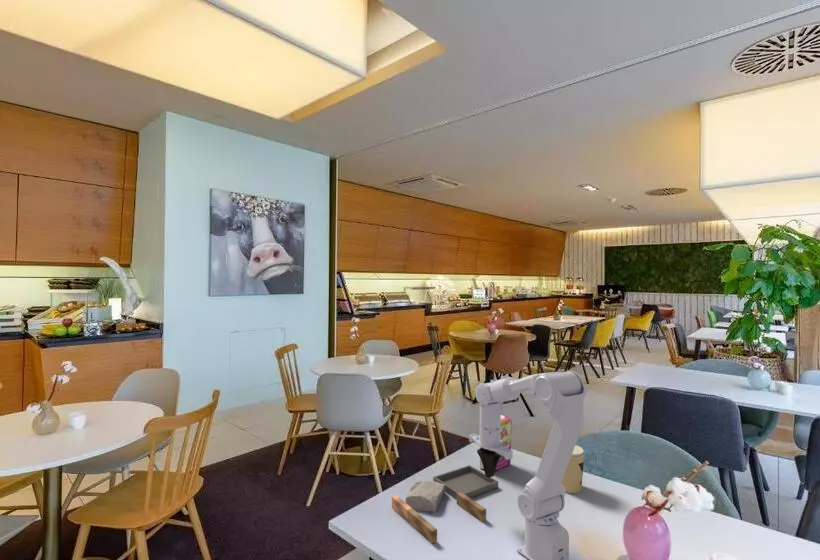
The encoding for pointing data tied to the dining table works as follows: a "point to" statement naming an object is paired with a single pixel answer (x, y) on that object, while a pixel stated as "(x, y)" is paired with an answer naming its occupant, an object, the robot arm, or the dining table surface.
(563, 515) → the dining table surface
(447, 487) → the tray
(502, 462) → the candy bar box
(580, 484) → the coffee cup
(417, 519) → the pair of wooden bars
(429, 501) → the stone block
